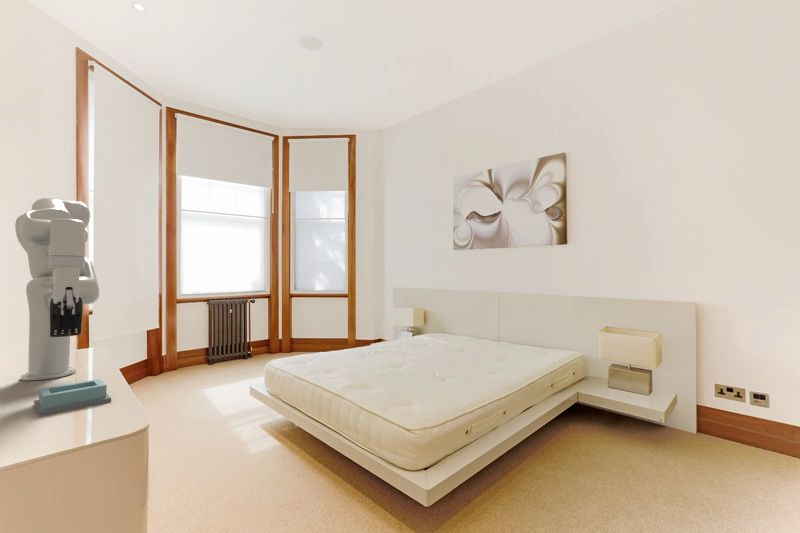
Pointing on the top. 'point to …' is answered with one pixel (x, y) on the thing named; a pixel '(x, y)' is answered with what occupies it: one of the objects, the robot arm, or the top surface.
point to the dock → (71, 397)
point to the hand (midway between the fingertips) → (65, 328)
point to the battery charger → (54, 319)
